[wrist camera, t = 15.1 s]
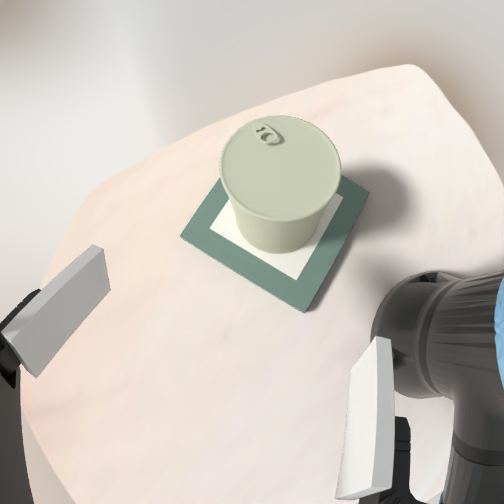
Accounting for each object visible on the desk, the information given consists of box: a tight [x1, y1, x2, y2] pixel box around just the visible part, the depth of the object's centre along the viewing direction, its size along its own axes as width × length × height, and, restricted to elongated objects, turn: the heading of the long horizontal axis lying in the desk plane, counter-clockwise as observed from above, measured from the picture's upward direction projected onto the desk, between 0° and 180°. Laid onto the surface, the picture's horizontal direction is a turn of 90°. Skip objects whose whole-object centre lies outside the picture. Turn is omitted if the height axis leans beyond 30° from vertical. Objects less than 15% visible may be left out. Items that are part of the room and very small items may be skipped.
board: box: [180, 176, 370, 313], centre depth 33 cm, size 16×16×2 cm
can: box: [219, 116, 341, 254], centre depth 26 cm, size 9×9×12 cm
